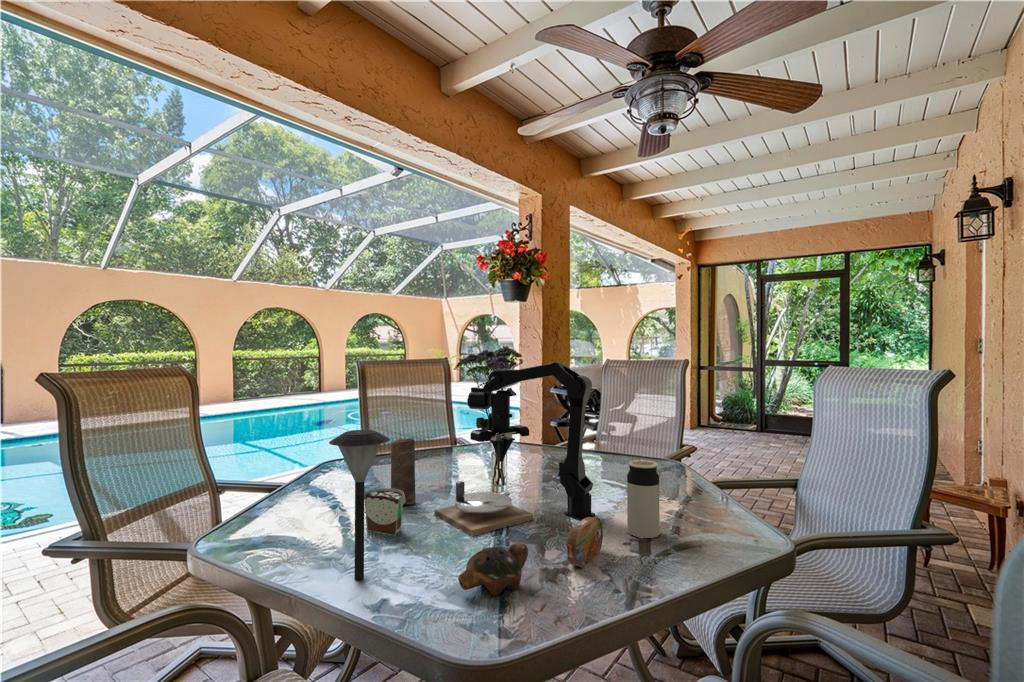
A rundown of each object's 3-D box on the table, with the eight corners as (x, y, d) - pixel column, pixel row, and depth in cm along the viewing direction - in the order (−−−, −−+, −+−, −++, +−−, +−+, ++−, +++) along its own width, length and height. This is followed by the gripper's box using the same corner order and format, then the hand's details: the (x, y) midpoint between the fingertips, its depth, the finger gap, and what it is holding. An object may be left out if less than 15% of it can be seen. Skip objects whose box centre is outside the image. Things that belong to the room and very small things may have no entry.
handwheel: (511, 502, 146) (511, 475, 146) (512, 520, 130) (512, 490, 130) (457, 502, 145) (457, 475, 145) (451, 520, 129) (451, 490, 129)
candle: (401, 509, 144) (401, 441, 145) (385, 504, 149) (385, 439, 149) (420, 503, 150) (420, 438, 151) (404, 498, 155) (405, 435, 155)
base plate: (533, 519, 135) (533, 513, 135) (472, 536, 123) (472, 529, 123) (492, 502, 151) (492, 496, 151) (434, 515, 139) (434, 509, 139)
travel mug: (664, 539, 121) (663, 466, 122) (633, 540, 121) (632, 466, 121) (653, 527, 129) (652, 459, 130) (623, 528, 129) (623, 459, 129)
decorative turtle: (541, 586, 97) (540, 547, 96) (475, 615, 88) (474, 572, 88) (512, 566, 105) (511, 530, 104) (450, 591, 96) (448, 551, 95)
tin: (577, 574, 102) (577, 533, 103) (564, 570, 104) (564, 530, 104) (604, 549, 115) (604, 513, 115) (591, 546, 117) (591, 511, 117)
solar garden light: (355, 562, 108) (356, 426, 109) (401, 571, 103) (402, 429, 104) (313, 586, 97) (314, 434, 97) (363, 598, 92) (364, 439, 93)
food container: (415, 529, 128) (415, 491, 128) (400, 537, 123) (400, 497, 123) (378, 522, 133) (378, 485, 134) (362, 529, 128) (362, 491, 128)
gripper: (509, 406, 162) (509, 453, 162) (460, 410, 151) (460, 460, 151) (530, 409, 153) (530, 459, 153) (480, 413, 142) (480, 467, 142)
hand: (500, 461), depth 150 cm, fingers closed
